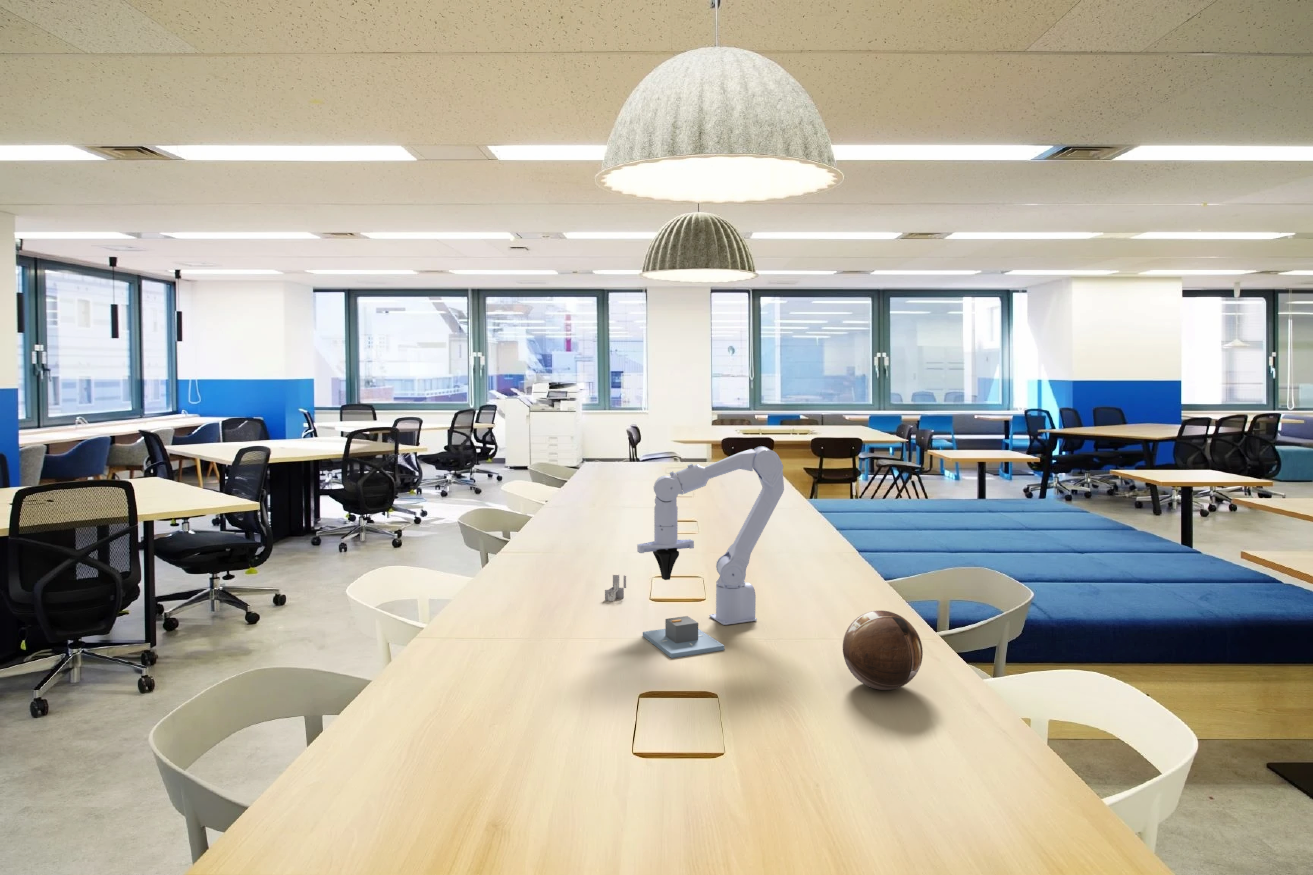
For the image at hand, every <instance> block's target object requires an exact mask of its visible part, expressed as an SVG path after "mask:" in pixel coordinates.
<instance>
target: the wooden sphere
mask: <svg viewBox="0 0 1313 875" xmlns="http://www.w3.org/2000/svg"><path fill="white" fill-rule="evenodd" d="M923 653H924V652H923V644H922V640H921V638H920V635H919V633H918V631H917V630H916V628H915V627H914V626H913V625H912V624H911V623H910V622H909V620H907V619H906V618H904V617H903V616H901V615H899V614H897V613H895V612H892V611H887V610H873V611H872V610H871V611H868V612H865V613H863V614H861V615H860V616H857V618H856V619H854V620H852V622H851V623H850V625H849V626H848V628H847V630H846V631H845V634H844V636H843V640H842V655H843V658H844V662H845V664H846V666H847V669H848V670H849V671H850V673H851V674H852V675H853V677H854V678H856V680H858V681H859V682H860V683H862V684H863V685H864V686H866V687H869V688H870V689H874V690H878V691H879V690H880V691H891V690H896V689H900V688H901V687H903V686H906V685H907V684H908V683H910V682H911V681H912V680H913V679H914V677H915V676H916V675H917V674H918V672H919V670H920V668H921V665H922V662H923V655H924V654H923Z"/></svg>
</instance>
